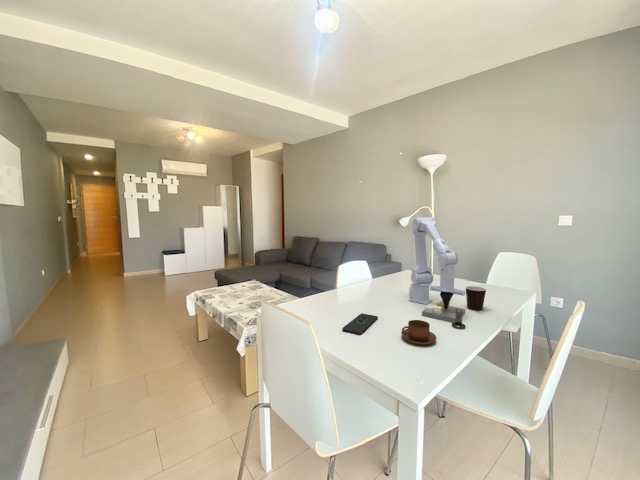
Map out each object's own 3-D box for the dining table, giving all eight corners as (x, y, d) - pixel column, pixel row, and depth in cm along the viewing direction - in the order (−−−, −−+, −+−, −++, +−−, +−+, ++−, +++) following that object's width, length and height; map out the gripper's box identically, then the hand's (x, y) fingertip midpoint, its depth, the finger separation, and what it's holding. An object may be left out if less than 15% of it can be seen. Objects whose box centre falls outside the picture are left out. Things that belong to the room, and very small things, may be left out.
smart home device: (378, 316, 122) (360, 332, 105) (378, 319, 122) (360, 336, 105) (361, 312, 126) (341, 328, 109) (361, 316, 126) (341, 332, 109)
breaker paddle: (436, 309, 127) (436, 303, 127) (438, 308, 129) (438, 302, 129) (443, 310, 125) (443, 304, 125) (445, 309, 127) (445, 303, 127)
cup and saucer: (417, 350, 93) (417, 332, 93) (394, 336, 104) (394, 320, 104) (443, 343, 98) (444, 326, 98) (419, 331, 109) (419, 315, 108)
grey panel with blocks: (421, 315, 125) (422, 305, 125) (433, 306, 137) (434, 297, 137) (455, 323, 116) (455, 312, 115) (464, 313, 128) (465, 303, 128)
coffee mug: (468, 304, 140) (468, 285, 139) (487, 308, 134) (488, 288, 133) (459, 310, 132) (460, 289, 131) (479, 314, 126) (480, 293, 125)
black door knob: (450, 327, 112) (450, 310, 111) (453, 323, 116) (454, 307, 115) (463, 330, 109) (464, 312, 108) (466, 326, 113) (467, 309, 112)
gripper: (427, 278, 126) (426, 307, 127) (462, 282, 117) (461, 314, 118) (432, 275, 131) (432, 303, 133) (466, 279, 122) (465, 310, 123)
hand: (446, 308), depth 126 cm, fingers closed
